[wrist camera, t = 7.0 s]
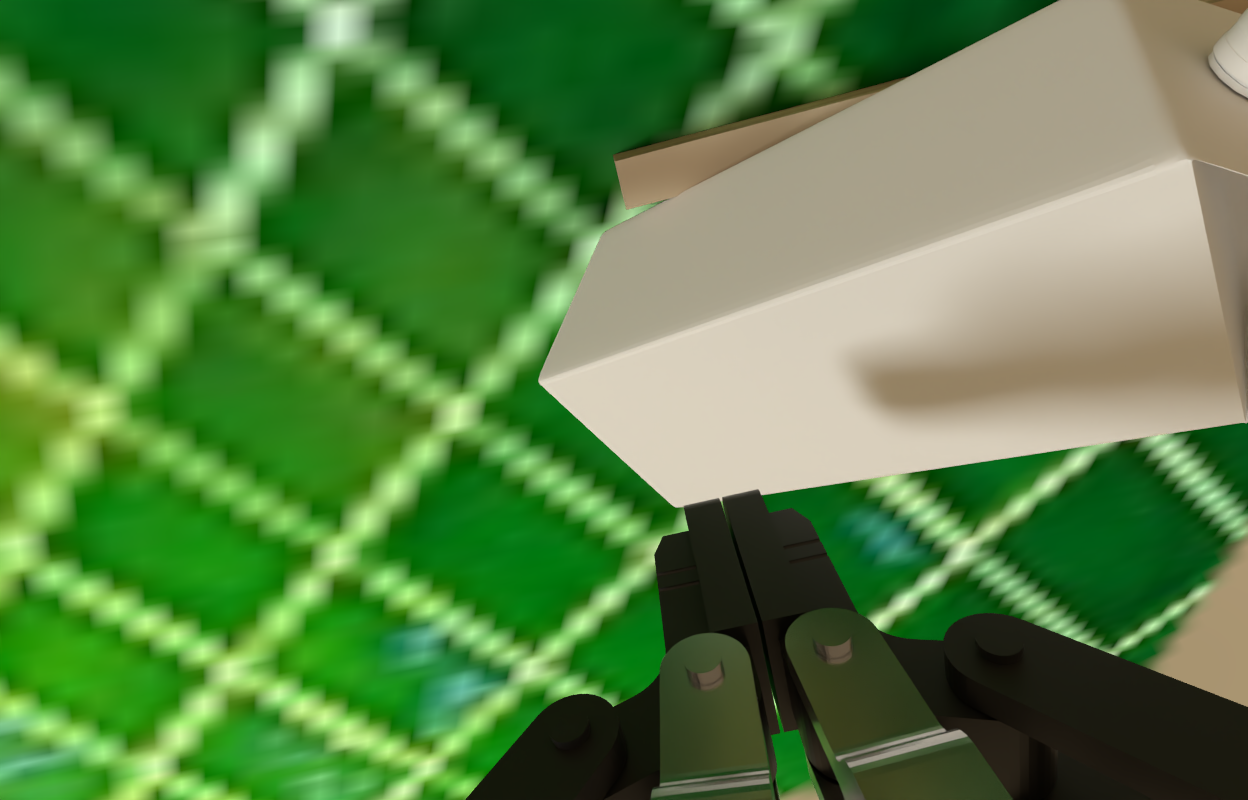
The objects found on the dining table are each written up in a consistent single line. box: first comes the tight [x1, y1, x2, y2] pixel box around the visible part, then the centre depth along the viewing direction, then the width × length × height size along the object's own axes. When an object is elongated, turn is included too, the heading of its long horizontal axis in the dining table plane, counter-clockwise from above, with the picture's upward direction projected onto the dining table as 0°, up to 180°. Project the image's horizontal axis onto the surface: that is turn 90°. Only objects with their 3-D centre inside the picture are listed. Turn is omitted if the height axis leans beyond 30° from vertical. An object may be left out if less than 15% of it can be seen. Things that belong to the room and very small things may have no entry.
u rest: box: [613, 0, 1248, 210], centre depth 24 cm, size 13×24×4 cm, turn 104°
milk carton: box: [539, 0, 1248, 507], centre depth 18 cm, size 7×7×19 cm
